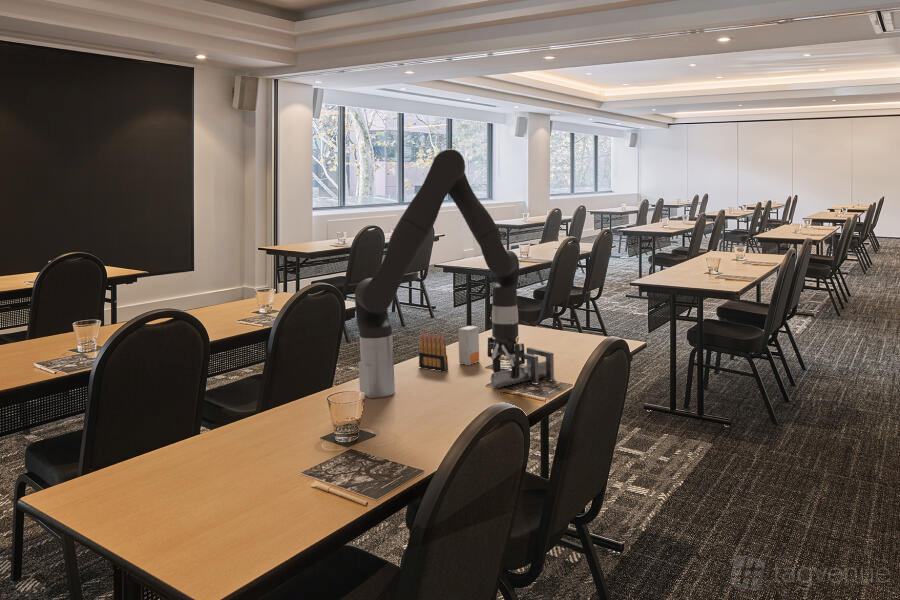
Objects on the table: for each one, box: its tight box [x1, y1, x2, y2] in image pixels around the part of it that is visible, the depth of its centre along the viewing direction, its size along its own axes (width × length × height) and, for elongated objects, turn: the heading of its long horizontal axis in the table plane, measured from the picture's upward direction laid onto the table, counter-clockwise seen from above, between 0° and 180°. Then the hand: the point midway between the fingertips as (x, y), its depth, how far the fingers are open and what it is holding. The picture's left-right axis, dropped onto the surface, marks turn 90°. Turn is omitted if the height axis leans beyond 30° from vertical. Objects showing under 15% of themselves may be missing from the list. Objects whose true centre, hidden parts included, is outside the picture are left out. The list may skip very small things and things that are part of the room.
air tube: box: [490, 360, 546, 389], centre depth 218 cm, size 20×5×5 cm, turn 125°
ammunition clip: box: [418, 331, 449, 372], centre depth 236 cm, size 11×2×12 cm, turn 52°
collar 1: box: [512, 352, 540, 383], centre depth 218 cm, size 1×11×8 cm, turn 35°
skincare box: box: [457, 325, 480, 366], centre depth 242 cm, size 6×4×12 cm
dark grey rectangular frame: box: [526, 346, 555, 382], centre depth 222 cm, size 1×11×8 cm, turn 35°
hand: (506, 375), depth 214 cm, fingers open, 8 cm apart
